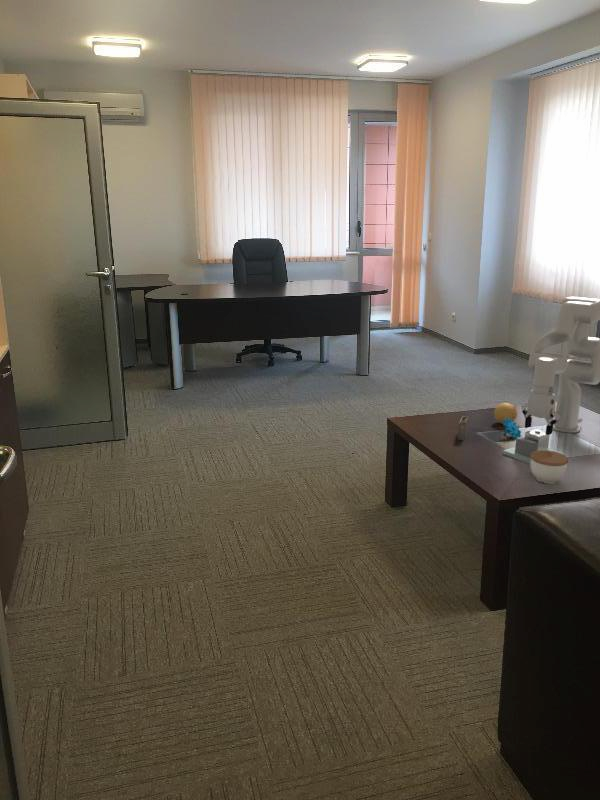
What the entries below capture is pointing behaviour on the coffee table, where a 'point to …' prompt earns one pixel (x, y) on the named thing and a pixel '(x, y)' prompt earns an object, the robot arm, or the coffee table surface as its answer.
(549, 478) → the lidded bowl
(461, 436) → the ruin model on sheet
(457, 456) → the coffee table surface
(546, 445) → the grey box with knob
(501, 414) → the stress ball
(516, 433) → the gear
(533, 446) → the plate with grey stand
